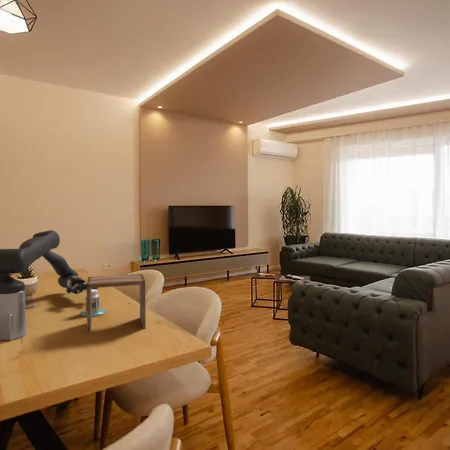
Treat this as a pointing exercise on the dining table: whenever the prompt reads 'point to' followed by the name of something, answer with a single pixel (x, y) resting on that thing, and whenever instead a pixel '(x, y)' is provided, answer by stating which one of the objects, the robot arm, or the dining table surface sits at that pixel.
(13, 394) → the dining table surface
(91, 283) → the cubby
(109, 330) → the dining table surface
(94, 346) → the dining table surface
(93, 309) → the pill bottle
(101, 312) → the mat
